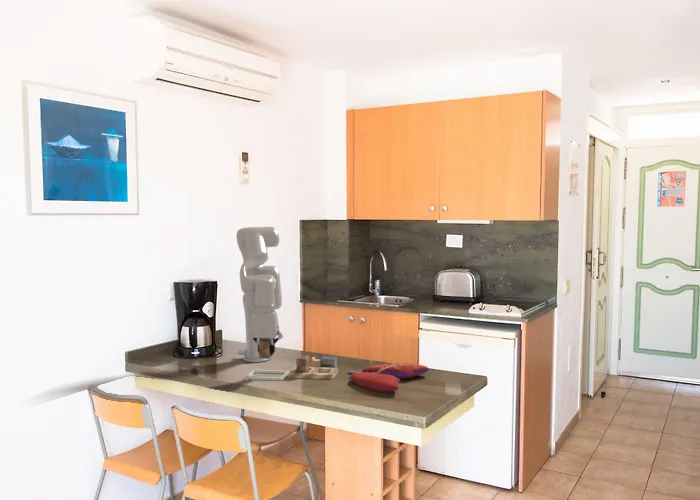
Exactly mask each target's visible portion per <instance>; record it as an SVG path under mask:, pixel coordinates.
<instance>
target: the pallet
mask: <svg viewBox="0 0 700 500" xmlns="http://www.w3.org/2000/svg"><path fill="white" fill-rule="evenodd" d="M338 373H339V368H338V367H337V368H323V367H320V366H319V367H318V366H317V367H316V366H310V371H309V372H308V373H297V368H296V366H294V367H293V368H292V370H289V373H288V375H287V377H288V379H312V380H313V379H314V380H316V379H317V380H333V379H334V378H335V376H336V375H337V374H338Z"/></svg>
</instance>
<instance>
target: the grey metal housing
mask: <svg viewBox="0 0 700 500" xmlns="http://www.w3.org/2000/svg"><path fill="white" fill-rule="evenodd" d="M319 365H320V366H319V367H323V368H338V356H335V355H334V356H332V355H331V356H327V355H323V356H322V357H321V358H320V364H319Z"/></svg>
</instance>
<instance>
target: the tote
mask: <svg viewBox="0 0 700 500" xmlns="http://www.w3.org/2000/svg"><path fill="white" fill-rule="evenodd" d="M289 372H290V370H278V369H277V370H275V369H273V370H272V369H270V370H269V369H252V371H250V372H249V373H248V374H246V375H245V376H244V381H245V382H247V381H249V380H254V381H255V380H259V381H261V380H262V381H266V380H267V381H283V380H284V379H286V377H288V373H289ZM259 373H260V374H283V375H282V376H280V377H279V376H278V377H277V376H255V375H256V374H259Z"/></svg>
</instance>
